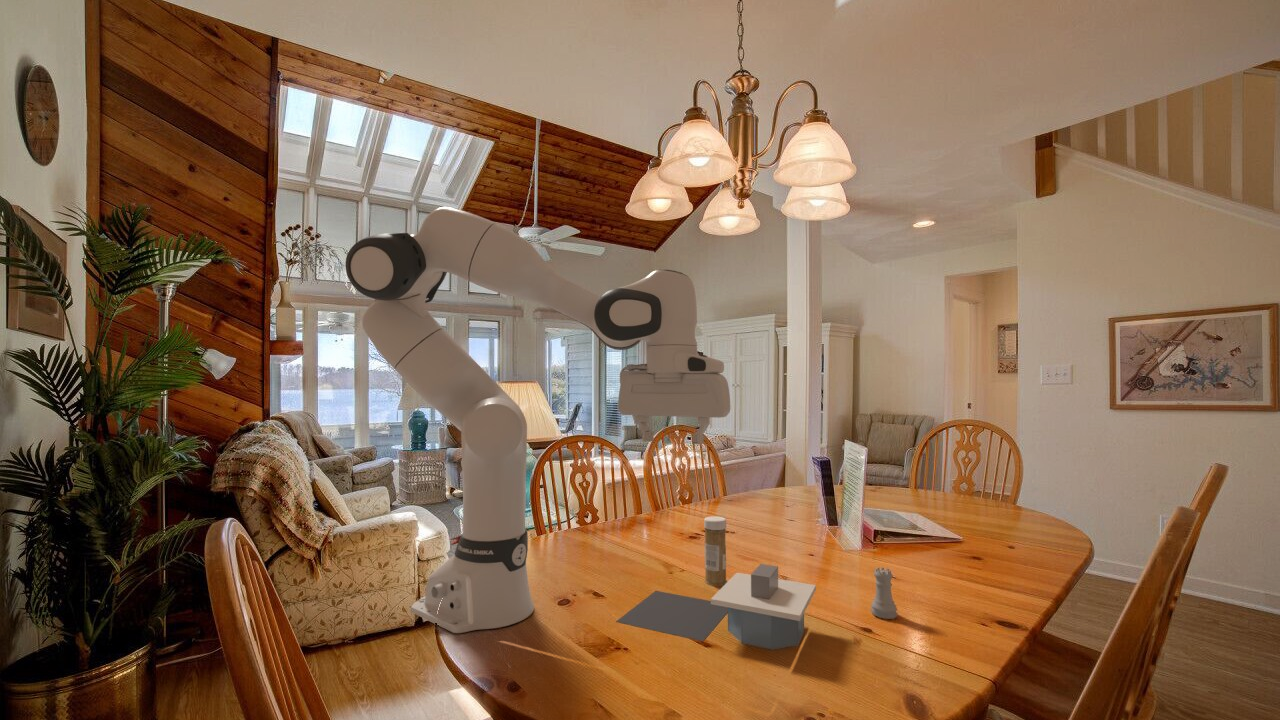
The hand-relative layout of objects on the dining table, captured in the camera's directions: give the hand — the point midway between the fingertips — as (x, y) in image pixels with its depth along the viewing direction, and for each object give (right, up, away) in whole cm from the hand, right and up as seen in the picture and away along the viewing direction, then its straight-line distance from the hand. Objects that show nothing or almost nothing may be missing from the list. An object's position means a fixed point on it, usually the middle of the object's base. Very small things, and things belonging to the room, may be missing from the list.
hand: (672, 442), depth 95 cm
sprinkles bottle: (+10, -32, +18) cm, 38 cm away
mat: (+1, -31, +3) cm, 31 cm away
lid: (+15, -25, -4) cm, 29 cm away
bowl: (+15, -31, -5) cm, 35 cm away
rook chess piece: (+38, -31, +3) cm, 49 cm away
